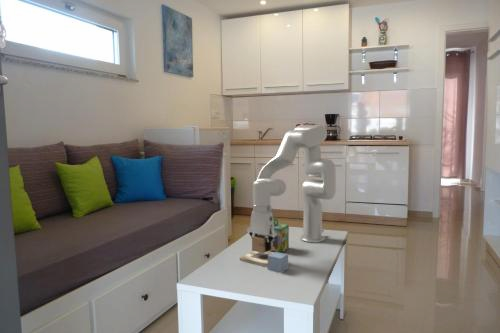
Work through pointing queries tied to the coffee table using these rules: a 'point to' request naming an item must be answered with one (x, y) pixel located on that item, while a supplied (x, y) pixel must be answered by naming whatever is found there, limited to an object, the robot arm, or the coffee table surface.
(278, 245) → the chalk box
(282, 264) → the slate cube
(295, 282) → the coffee table surface
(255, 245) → the walnut cube
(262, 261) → the tan square board
